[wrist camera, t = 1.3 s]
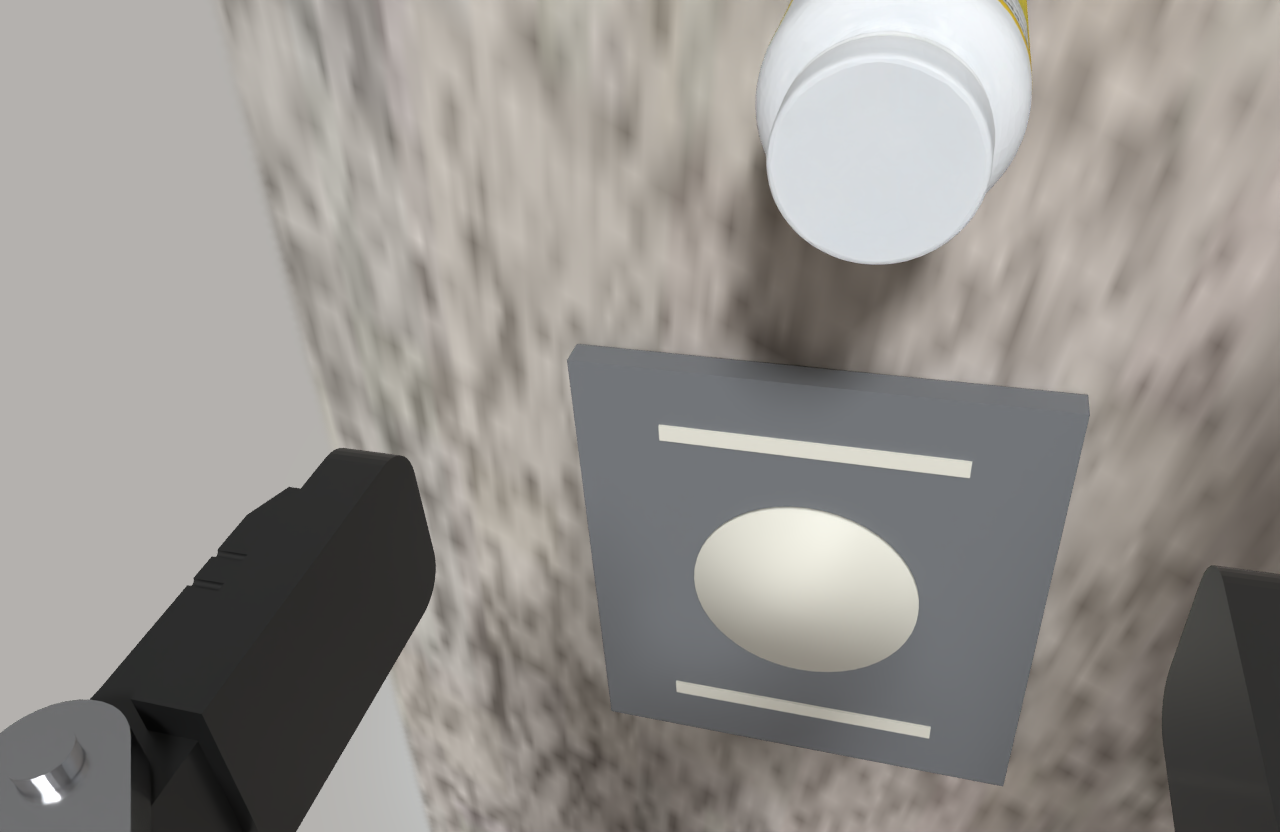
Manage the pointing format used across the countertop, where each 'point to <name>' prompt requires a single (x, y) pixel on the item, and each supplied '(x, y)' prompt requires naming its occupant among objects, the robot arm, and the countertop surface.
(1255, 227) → the countertop surface
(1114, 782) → the countertop surface
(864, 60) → the supplement bottle
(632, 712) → the slate board
